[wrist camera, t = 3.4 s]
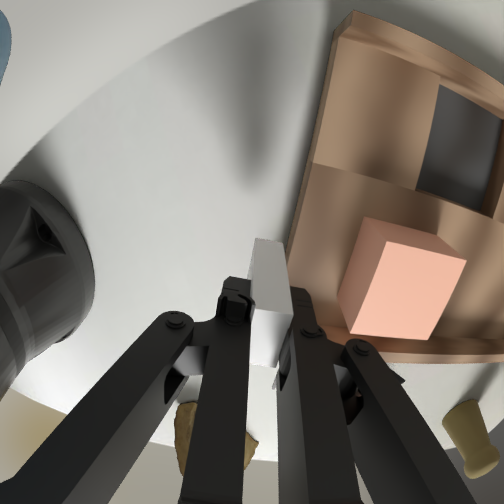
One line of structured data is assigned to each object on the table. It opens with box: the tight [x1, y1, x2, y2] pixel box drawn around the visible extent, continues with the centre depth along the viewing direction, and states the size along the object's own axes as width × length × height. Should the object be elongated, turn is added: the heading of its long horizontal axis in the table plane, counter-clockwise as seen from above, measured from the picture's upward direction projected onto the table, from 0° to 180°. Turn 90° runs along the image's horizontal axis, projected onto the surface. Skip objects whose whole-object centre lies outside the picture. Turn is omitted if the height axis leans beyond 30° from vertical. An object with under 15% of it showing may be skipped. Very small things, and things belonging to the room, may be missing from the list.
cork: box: [442, 399, 500, 479], centre depth 27 cm, size 6×6×11 cm
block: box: [337, 217, 467, 340], centre depth 18 cm, size 6×6×4 cm
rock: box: [174, 402, 259, 477], centre depth 28 cm, size 11×9×10 cm
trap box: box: [285, 10, 504, 364], centre depth 18 cm, size 28×21×6 cm
